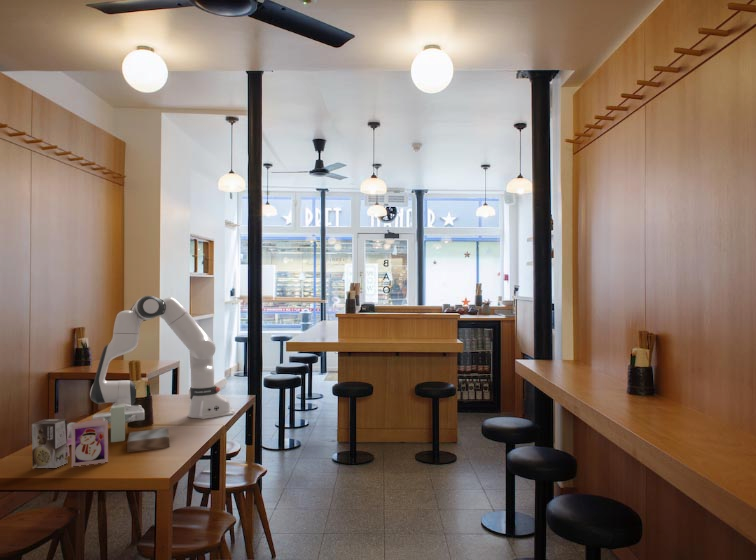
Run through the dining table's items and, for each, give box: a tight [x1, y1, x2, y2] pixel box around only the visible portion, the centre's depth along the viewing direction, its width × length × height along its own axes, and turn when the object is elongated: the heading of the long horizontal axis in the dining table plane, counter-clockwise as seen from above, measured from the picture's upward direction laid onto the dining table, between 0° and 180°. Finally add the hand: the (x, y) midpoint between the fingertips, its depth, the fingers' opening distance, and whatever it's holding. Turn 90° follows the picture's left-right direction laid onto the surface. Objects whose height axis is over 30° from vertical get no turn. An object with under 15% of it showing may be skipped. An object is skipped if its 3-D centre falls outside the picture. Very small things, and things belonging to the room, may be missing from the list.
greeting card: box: [71, 418, 109, 468], centre depth 185 cm, size 11×7×15 cm, turn 114°
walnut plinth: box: [126, 427, 170, 453], centre depth 206 cm, size 15×15×4 cm
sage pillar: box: [110, 405, 126, 443], centre depth 213 cm, size 5×5×14 cm
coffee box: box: [31, 418, 68, 469], centre depth 182 cm, size 9×6×16 cm
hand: (117, 421), depth 213 cm, fingers open, 8 cm apart
